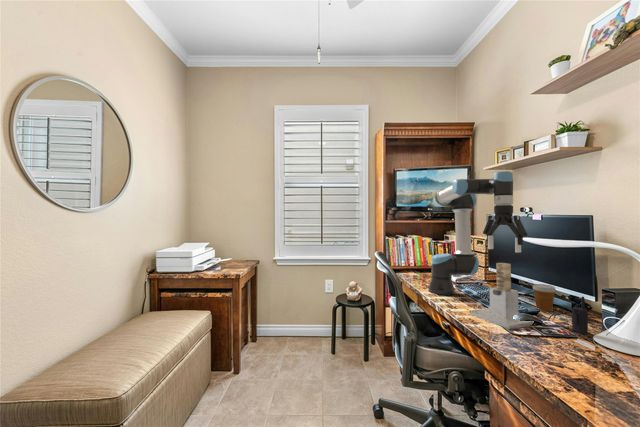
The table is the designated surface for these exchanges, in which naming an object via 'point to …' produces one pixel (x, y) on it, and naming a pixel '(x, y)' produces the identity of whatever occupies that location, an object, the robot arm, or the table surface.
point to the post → (503, 276)
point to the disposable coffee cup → (544, 296)
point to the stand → (502, 309)
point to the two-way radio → (580, 318)
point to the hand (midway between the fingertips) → (503, 250)
